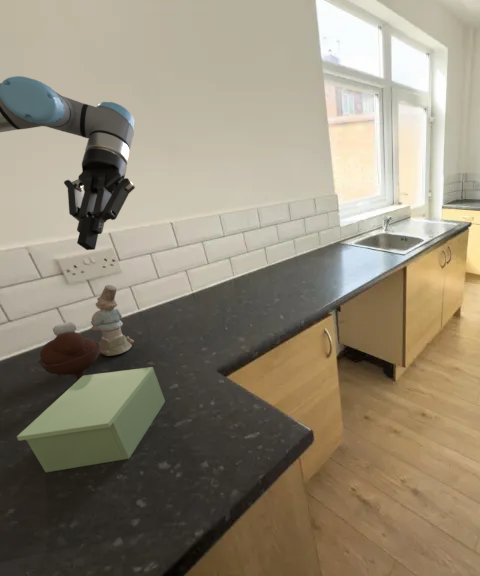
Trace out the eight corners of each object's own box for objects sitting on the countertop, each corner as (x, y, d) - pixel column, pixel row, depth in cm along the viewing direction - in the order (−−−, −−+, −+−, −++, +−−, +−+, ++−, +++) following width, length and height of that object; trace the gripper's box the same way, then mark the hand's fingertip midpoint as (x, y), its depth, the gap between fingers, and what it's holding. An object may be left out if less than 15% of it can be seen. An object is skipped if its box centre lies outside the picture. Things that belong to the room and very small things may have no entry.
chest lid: (109, 427, 56) (107, 423, 55) (18, 440, 53) (16, 436, 53) (154, 370, 71) (152, 366, 70) (84, 378, 68) (82, 375, 68)
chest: (129, 458, 60) (113, 422, 56) (45, 472, 57) (23, 436, 54) (165, 401, 74) (154, 370, 71) (99, 410, 72) (84, 379, 68)
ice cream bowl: (117, 366, 87) (98, 318, 82) (101, 392, 78) (77, 339, 72) (69, 376, 84) (45, 326, 78) (45, 404, 74) (16, 349, 69)
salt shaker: (61, 370, 86) (41, 328, 81) (84, 358, 91) (66, 318, 87) (77, 373, 85) (57, 331, 80) (100, 361, 90) (82, 320, 85)
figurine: (142, 344, 98) (120, 283, 91) (114, 359, 91) (88, 295, 83) (121, 340, 100) (98, 281, 93) (92, 355, 93) (64, 292, 86)
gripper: (146, 170, 79) (132, 253, 70) (86, 172, 77) (64, 257, 68) (127, 146, 72) (109, 234, 63) (61, 147, 70) (33, 238, 61)
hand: (86, 246), depth 65 cm, fingers closed
